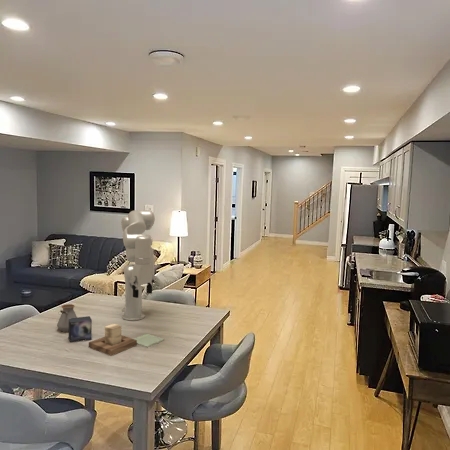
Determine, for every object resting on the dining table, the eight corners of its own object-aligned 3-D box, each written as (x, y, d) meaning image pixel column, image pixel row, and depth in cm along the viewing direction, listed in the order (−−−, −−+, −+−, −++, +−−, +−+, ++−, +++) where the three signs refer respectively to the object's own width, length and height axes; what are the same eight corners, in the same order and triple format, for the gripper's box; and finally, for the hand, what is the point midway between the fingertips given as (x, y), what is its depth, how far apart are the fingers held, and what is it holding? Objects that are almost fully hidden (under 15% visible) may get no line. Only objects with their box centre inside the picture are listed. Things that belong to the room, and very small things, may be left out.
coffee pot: (60, 325, 225) (59, 299, 224) (81, 325, 227) (81, 298, 225) (48, 340, 204) (48, 311, 203) (72, 340, 206) (72, 311, 204)
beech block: (104, 346, 199) (104, 326, 198) (113, 343, 204) (113, 323, 203) (112, 349, 196) (112, 329, 195) (121, 345, 201) (121, 326, 200)
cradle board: (88, 347, 198) (88, 342, 197) (114, 337, 211) (114, 332, 211) (111, 355, 189) (111, 350, 188) (136, 345, 202) (136, 340, 202)
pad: (129, 341, 206) (129, 340, 206) (147, 334, 216) (147, 333, 216) (147, 347, 199) (147, 346, 199) (164, 340, 209) (164, 339, 209)
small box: (69, 343, 202) (69, 322, 201) (68, 338, 208) (67, 318, 207) (92, 339, 207) (92, 319, 206) (89, 335, 213) (89, 315, 212)
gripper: (149, 257, 211) (148, 290, 212) (124, 262, 196) (124, 297, 198) (160, 259, 207) (159, 292, 209) (136, 264, 192) (135, 300, 194)
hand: (142, 295), depth 203 cm, fingers open, 9 cm apart
